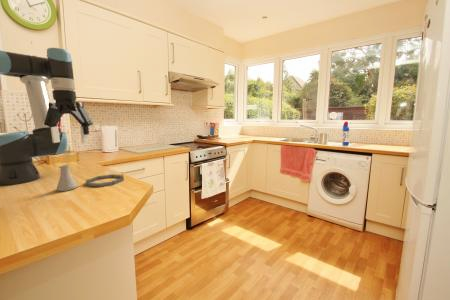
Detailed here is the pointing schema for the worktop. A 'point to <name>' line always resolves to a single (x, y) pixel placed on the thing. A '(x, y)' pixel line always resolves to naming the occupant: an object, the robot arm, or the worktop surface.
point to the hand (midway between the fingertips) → (70, 142)
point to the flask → (66, 180)
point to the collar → (88, 182)
